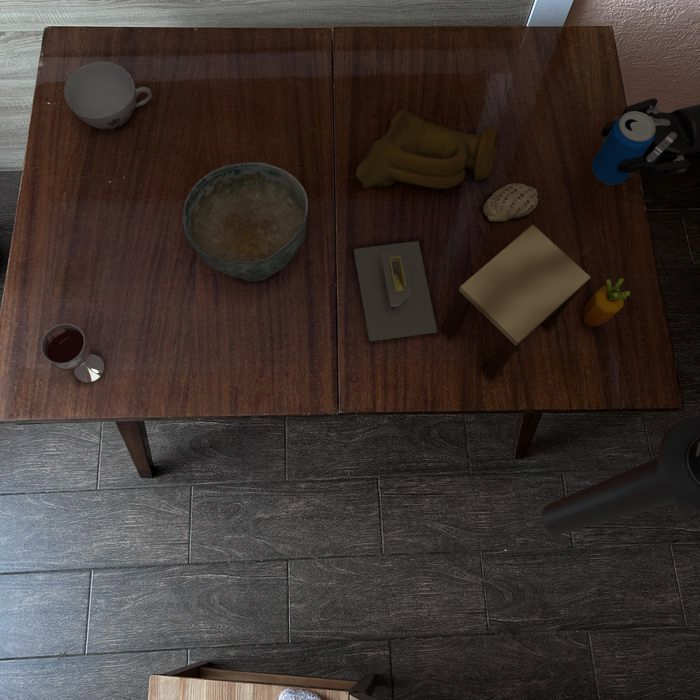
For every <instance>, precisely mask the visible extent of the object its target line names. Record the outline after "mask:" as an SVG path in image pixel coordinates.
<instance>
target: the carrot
mask: <svg viewBox="0 0 700 700" xmlns="http://www.w3.org/2000/svg"><path fill="white" fill-rule="evenodd" d="M624 281H625V278H623V277H622V278H619V279H618V281H617V282H616V284H615V285H614V286H612V281H611V279H610V278H607V279H606V282H605V283H606V286H601V287H599V289H598V290H596V291H595V293H594V294H593V295H592V296H591V297H590V299H589V300H588V301H587V303H586V304H585V307H584V308H583V309H584V310H583V323H584V325H586V327H587V326H588V327H590V326H591V327H598V326H601V325H603V324H605V323H607V322H608V321H609V320H610V319H612V318H613V317H614V316H615V315H616V314H617V313H618V312H619V311H620V310H622V308H623V307H624V305H625V302H624V300H626V299H627V297H628V296H630V295H631V291H630V290H626V291H622V292H621V291H620V288H619V287H620V286H621V285H622V284H623V282H624Z"/></svg>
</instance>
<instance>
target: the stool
mask: <svg viewBox="0 0 700 700" xmlns="http://www.w3.org/2000/svg"><path fill="white" fill-rule="evenodd" d="M590 279H591V276H590V275H589V274H588V273H587V272H586V271H585V270H584V269H582V268H581V267H580V266H579V265H578V264H577V263H576V262H575V261H574V260H573V259H571V258H570V257H569V256H568V255H567V254H566V253H565V252H564V251H563V250H562V249H561V248H559V247H558V246H557V245H556V244H555V243H554V242H553V241H552V240H551V239H550V238H548V237H547V236H546V235H545V234H544V233H543V232H542V230H540V229H538V227H536V226H535V224H532V225H530V226H529V227H528V228H527V229H525V230H524V231H523V232H522V233H521V234H519V236H517V237H516V238H515V239H514V240H512V242H510V243H509V244H508V245H507V246H505V248H503V249H502V250H501V251H500V252H499V253H497V254H496V255H495V256H494V257H492V259H490V260H489V261H488V262H487V263H486V264H484V265H483V266H482V267H481V268H480V269H479V270H478V271H476V273H474V274H473V275H471V276H470V277H469V278H468V279H467V280H466V281H465V282H464V283H462V284H461V285H460V286H459V288H458V290H457V293H456V296H455V298H454V301H453V303H452V305H451V307H450V310H449V312H448V315H447V316H446V320H445V322H444V325H443V327H442V329H441V331H443V332H444V333H445V335H447V336H448V337H449V339H450V338H452V337H453V336H454V335H455V334H457V333H458V332H459V330H460V328H461V326H462V324H463V321H464V320H465V317H466V316H467V314H468V311H469V309H470V307H471V305H473V306H474V307H475V308H476V309H477V310H478V311H479V312H480V313H481V314H482V315H483V316H484V317H485V318H487V319H488V321H490V323H491V324H492V325H494V326H495V328H497V329H498V331H500V332H501V333H502V334H503V335H504V336H505V338H504V339H503V340H502V342H501V344H500V345H499V346H498V348H497V350H496V351H495V352H494V353H493V355H492V357H491V358H490V360H489V361H488V363H487V365H486V366H485V367H484V368H483V373H485V374H486V375H487V376H488V377H489V378H490V380H492V379H493V378H494V377H496V376H497V375H498V374H499V373H500V372H501V371H502V369H503V368H504V367H505V365H506V364H507V363H508V361H509V360H510V359H511V357H512V356H513V355H514V353H515V352H516V351H517V349H518V348H519V347H520V345H521V344H522V343H523V341H524V340H525V339H526V338H527V337H528V336H529V335H531V333H532V332H533V331H534V330H535V329H537V328H538V327H539V326H540V325H541V324H542V325H543V326H544V327H545V328H546V329H548V328H549V327H551V326H552V325H553V324H554V323H555V322H556V321H557V319H558V318H559V317H560V316H561V314H562V313H563V312H564V311H565V310H566V308H567V307H568V306H569V304H571V302H572V301H573V300H574V299H575V297H576V296H577V295H578V293H580V291H581V290H582V289H583V288H584V286H585V285H586V284H587V282H588V281H589V280H590Z"/></svg>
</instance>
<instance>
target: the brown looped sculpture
mask: <svg viewBox="0 0 700 700" xmlns="http://www.w3.org/2000/svg"><path fill="white" fill-rule="evenodd" d="M499 140H500V131H499V130H498V129H497V128H496V127H495V126H493V125H487V126H486V127H485V128H484V130H483V132H482V133H480V134H473V133H472V134H471V133H465V132H461V131H456V130H453V129H451V128H448V127H445V126H443V125H441V124H436V123H433V122H431V121H430V122H429V121H426V120H423V119H422V118H420V117H418V116H416V115H415V114H413V113H411V112H410V111H409V110H407V109H405V108H404V109H400V110H398V111H397V112H396V113H395V114H394V116H393V118H392V119H391V120H390V123H389V126H388V129H387V131H386V133H384V135H383V136H382V137H381V138H379V139H377V140H375V141H374V142H373V143H372V145H371V146H370V148H369V151H368V152H367V154H366V155H365V157H364V158H363V159H362V160H361V161H360V163H358V165H357V167H356V171H355V177H356V178H357V180H358V181H359V182H360V185H361V186H362V187H363V188H364V189H366V190H367V189H370V188H375V187H377V188H386V187H389V186H391V185H394V184H395V183H396V182H399V183H402V184H407V185H413V186H420V187H423V188H429V189H436V190H446V189H447V190H449V189H452V188H454V187H456V186H458V185H460V184H461V183H462V182H463V181H464V179H465V177H466V169H467V170H470V171H473V180H474V181H483V180H486V179H488V178H489V176H490V174H491V172H492V168H493V166H494V162H495V158H496V155H497V151H498V150H497V149H498V144H499Z"/></svg>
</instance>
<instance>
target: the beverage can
mask: <svg viewBox="0 0 700 700" xmlns="http://www.w3.org/2000/svg"><path fill="white" fill-rule="evenodd" d="M651 118H652V117H651V116H648V115H646V114H644V113H642V112H637V111H632V112H628V113H626V114H624V115H623V116H622V117H620V116H619V117H618V118H617V119H616V120H617V121H616V120H615V121H616V122H615V124H614V125H613V127H612V129H611V131H610V132H609V134H608V136H606V137H605V139H604V141H603V142H602V144H601V146H600V148H599V150H598V151H597V153H596V155H595V156H594V158H593V160H592V163H591V170H592V173H593V176H594V177H596V179H598V180H599V181H600V182H602V183H604V184H607V185H613V186H614V185H620V184H623V183H624V182H625V181H626V180H627V179H628V178H629V177H630V176H631V174H632V172H631V173H624V172H619V170H618V167H619V165H620V164H621V162H623V161H625V160H629V159H633V158H638V157H641V156H644V155H645V154H646V152H647V150H649V149H648V147H649V146H650V144H651V143H652V141H653V139H654V136H655V124H654V122H653V120H652V119H651Z"/></svg>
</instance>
